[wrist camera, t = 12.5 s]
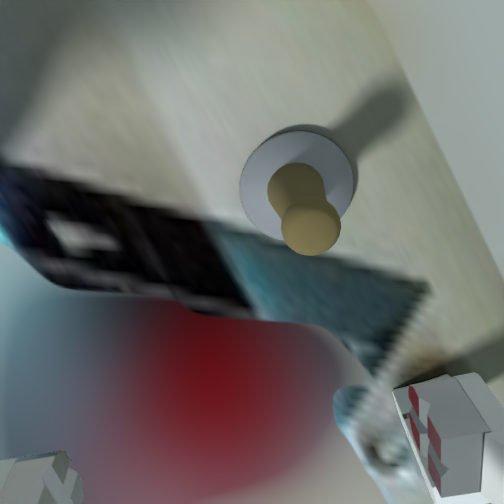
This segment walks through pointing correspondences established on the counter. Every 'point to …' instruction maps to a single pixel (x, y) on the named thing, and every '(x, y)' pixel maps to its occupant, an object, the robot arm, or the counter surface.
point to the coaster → (285, 152)
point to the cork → (303, 209)
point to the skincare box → (459, 503)
